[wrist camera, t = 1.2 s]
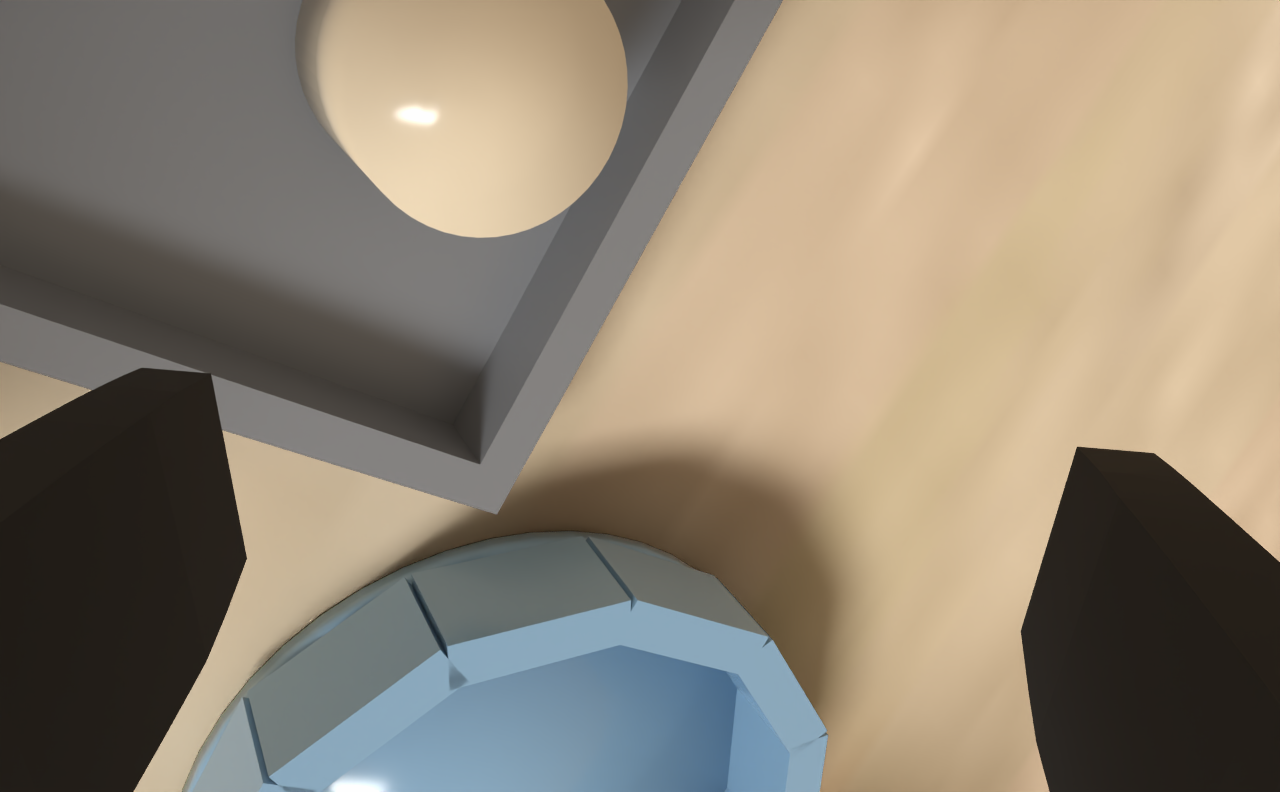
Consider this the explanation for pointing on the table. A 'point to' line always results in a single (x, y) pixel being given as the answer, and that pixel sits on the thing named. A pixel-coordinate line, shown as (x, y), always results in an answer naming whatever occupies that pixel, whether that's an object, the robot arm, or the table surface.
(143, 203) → the parts tray
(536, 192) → the beige rounded cylinder
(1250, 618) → the robot arm
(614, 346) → the table surface
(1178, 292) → the table surface
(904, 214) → the table surface
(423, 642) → the bowl
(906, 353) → the table surface
